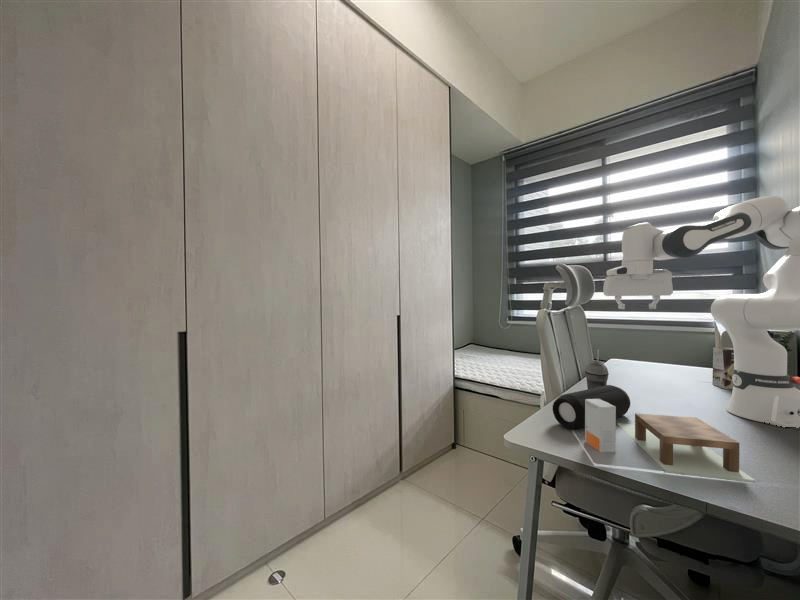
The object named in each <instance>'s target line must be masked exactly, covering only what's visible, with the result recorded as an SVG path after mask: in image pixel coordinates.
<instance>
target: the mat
mask: <svg viewBox="0 0 800 600" xmlns="http://www.w3.org/2000/svg"><path fill="white" fill-rule="evenodd" d="M616 425H618V427H620V428H621V429H622V430H623V431H624V432H625V433H626V434H627V435H629V437H630V438H631V439H632V440H633V441H634V442H635V443H636V444H637V445H639V446H640V447H641V448H642V449H643V451H645V452H646V453H647V455H648V456H650V457H651V458H652V459H653V460H654V461H655V462H656V463H657V464H658V465H659V466H660V467H661V468H662V469H663V472H664V473H666V474H673V475H674V474H675V475H683V476H693V477H701V478H709V479H719V480H726V481H727V480H728V481H739V482H744V483H745V482H746V483H756V479H754V478H752V477H751V476H750V475H748V474H747V473H746V472H744V471H743V470H741V469H740V468H739V472H730V471H728V470H726V469H725V468H724V467H723V456H721V455H719V453H717V452H715V451H714V450H712V449H710V447H701V446H690V445H679V444H673V465H664V464H663V463H662V462H661V461H660V439H658V438H657V437H656V436H655V435H654V434H652V433H651V432H650V431H649V430H647V429H646V441H641V440H637V439H636V438H635V423H634V424H633V423H623V422H622V423H621V422H620V423H619V422H617V423H616Z"/></svg>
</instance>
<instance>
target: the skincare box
mask: <svg viewBox="0 0 800 600" xmlns="http://www.w3.org/2000/svg"><path fill="white" fill-rule="evenodd" d="M616 420H617V417H616V407H615V406H613V405H611V404H609V403H608V402H605V401H603V400H601V399H585V427H584V442H585V443H587V445H590V446H591V447H592V448H594V449H596V450H597V451H598V452H599V453H615V452H616V451H617V450H616V449H617V448H616V447H617V443H616V442H617V437H616V434H617V432H616V431H617V426H616V425H617V423H616V422H617V421H616Z"/></svg>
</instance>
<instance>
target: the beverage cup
mask: <svg viewBox="0 0 800 600" xmlns="http://www.w3.org/2000/svg"><path fill="white" fill-rule="evenodd" d="M596 351H597V352H596V353H597V354H596V360H595V361H591V362H589V363H587V365H586V366H585V369H584V370H585V371H584V373H585V378H586V387H587V389H591V388H596V387H601V386H605V385H608V384H607V382H608V378H609V374H610V373H609V369H608V367H607V366H606V365H605V364H604V363H603V362H601V361H599V359H600V358H599V357H600V350H599V349H597V350H596Z"/></svg>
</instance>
